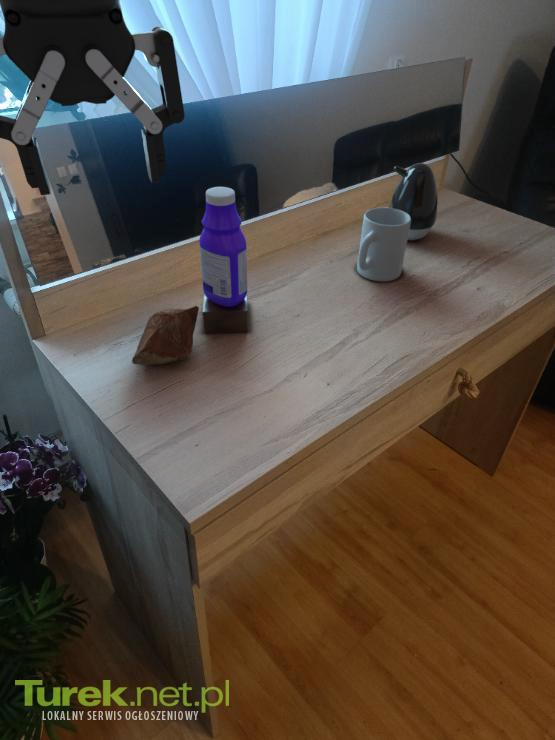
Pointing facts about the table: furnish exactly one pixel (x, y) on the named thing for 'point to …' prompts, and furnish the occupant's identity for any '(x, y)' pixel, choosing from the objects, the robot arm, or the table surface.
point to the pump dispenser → (417, 198)
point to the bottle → (223, 249)
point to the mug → (383, 243)
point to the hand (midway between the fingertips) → (101, 185)
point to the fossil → (167, 337)
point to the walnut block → (224, 317)
